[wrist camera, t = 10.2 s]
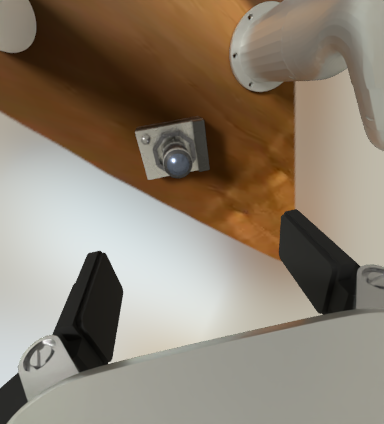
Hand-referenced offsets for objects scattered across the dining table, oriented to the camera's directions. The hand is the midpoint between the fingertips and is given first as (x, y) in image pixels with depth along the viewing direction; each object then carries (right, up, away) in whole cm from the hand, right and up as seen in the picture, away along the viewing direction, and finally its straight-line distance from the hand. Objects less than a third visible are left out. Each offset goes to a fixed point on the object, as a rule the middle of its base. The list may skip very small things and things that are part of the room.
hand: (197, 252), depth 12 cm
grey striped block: (-4, +16, +33) cm, 37 cm away
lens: (-4, +13, +29) cm, 32 cm away
